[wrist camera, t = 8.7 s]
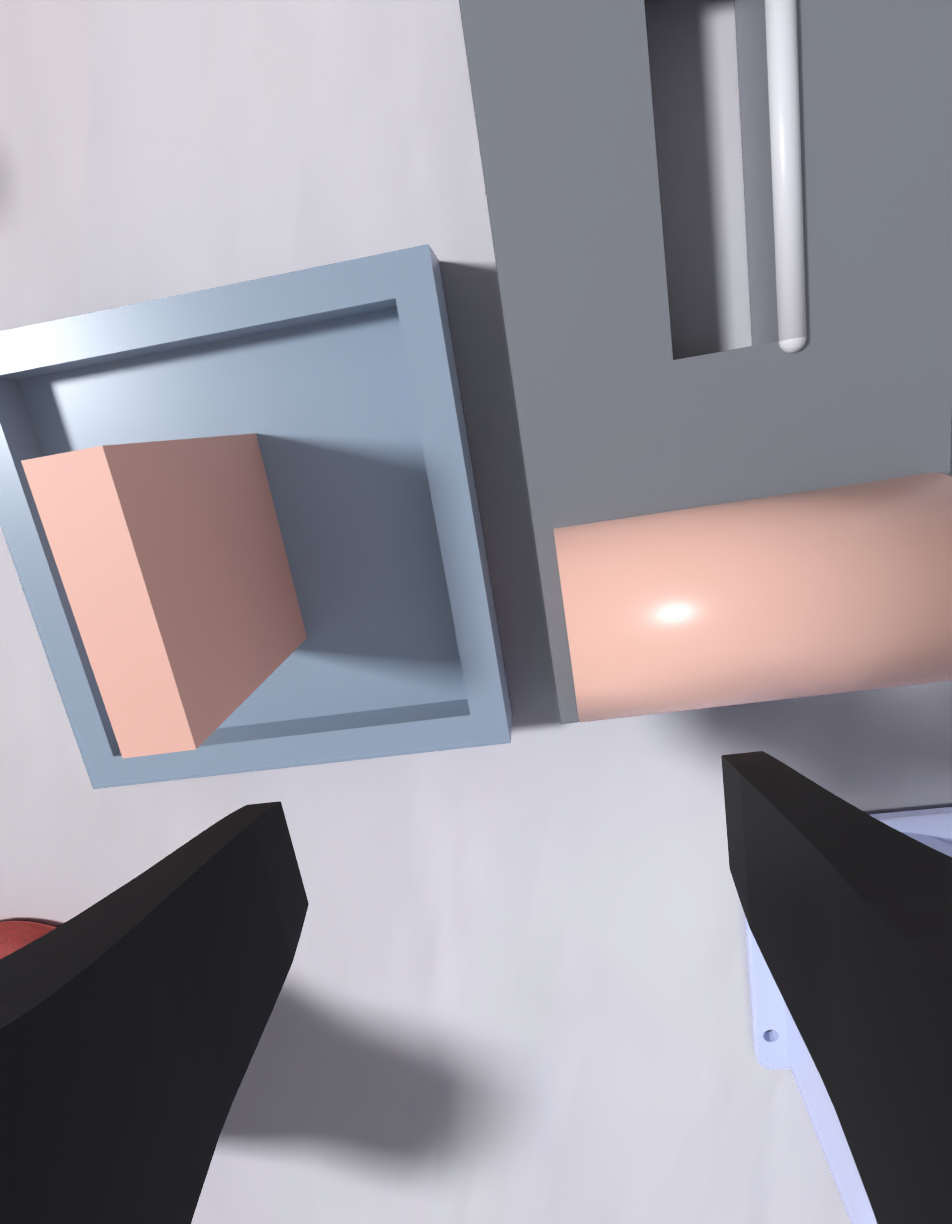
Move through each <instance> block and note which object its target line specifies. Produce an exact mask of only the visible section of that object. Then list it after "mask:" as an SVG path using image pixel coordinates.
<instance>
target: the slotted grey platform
mask: <svg viewBox="0 0 952 1224" xmlns="http://www.w3.org/2000/svg"><path fill="white" fill-rule="evenodd" d="M645 1H649V0H459V5H460V12H461V19H462V26H463V33H464V41H465V48H466V55H467V62H468V69H469V76H470V83H471V90H472V97H473V104H474V111H475V118H476V125H477V133H478V140H479V147H480V154H481V161H482V168H483V175H484V182H485V189H486V196H487V203H488V210H489V217H490V225H491V232H492V239H493V246H494V253H495V260H496V267H497V274H498V281H499V288H500V295H501V302H502V310H503V317H504V324H505V331H506V338H507V345H508V352H509V359H510V366H511V373H512V380H513V387H514V394H515V402H516V409H517V416H518V423H519V430H520V437H521V444H522V451H523V458H524V465H525V472H526V479H527V487H528V494H529V501H530V508H531V515H532V522H533V529H534V536H535V543H536V550H537V557H538V564H539V571H540V579H541V586H542V593H543V600H544V607H545V614H546V621H547V628H548V635H549V642H550V649H551V656H552V663H553V671H554V678H555V685H556V692H557V699H558V706H559V713H560V720H561V724H566V723H575V722H587V721H596V720H605V719H614V718H623V717H632V716H641V715H649V714H658V713H667V712H676V711H685V710H694V709H703V708H712V707H720V706H729V705H738V704H747V703H756V702H765V701H774V700H782V699H791V698H800V697H809V696H818V695H827V694H836V693H844V692H853V691H862V690H871V689H880V688H889V687H898V686H906V685H915V684H924V683H933V682H942V681H951V680H952V477H951V476H950V460H951V418H952V0H734V1H735V20H736V40H737V60H738V80H739V99H740V119H741V139H742V158H743V178H744V198H745V217H746V237H747V257H748V276H749V296H750V316H751V336H752V346H751V347H745V348H739V349H734V350H728V351H722V352H716V353H711V354H705V355H699V356H693V357H688V358H682V359H676V360H673V353H672V340H671V328H670V315H669V303H668V290H667V278H666V265H665V253H664V241H663V228H662V216H661V203H660V191H659V178H658V166H657V154H656V141H655V129H654V116H653V104H652V91H651V79H650V67H649V54H648V42H647V29H646V17H645V4H644V2H645Z"/></svg>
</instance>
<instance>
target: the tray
mask: <svg viewBox="0 0 952 1224" xmlns="http://www.w3.org/2000/svg"><path fill="white" fill-rule="evenodd" d="M253 433H256V435H257V439H258V443H259V447H260V451H261V455H262V459H263V463H264V467H265V471H266V475H267V479H268V483H269V487H270V491H271V495H272V499H273V503H274V507H275V511H276V515H277V519H278V523H279V527H280V532H281V536H282V540H283V544H284V548H285V552H286V556H287V560H288V564H289V568H290V572H291V576H292V580H293V584H294V588H295V592H296V596H297V600H298V604H299V608H300V612H301V616H302V620H303V624H304V628H305V632H306V636H307V639H306V640H305V641H304V642H303V643H302V644H301V645H300V646H299V647H298V648H297V649H296V650H295V651H294V652H293V653H292V654H291V655H290V656H289V657H288V658H287V659H286V660H285V661H284V662H283V663H282V664H281V665H280V666H279V667H278V668H277V669H276V670H275V671H274V672H273V673H272V674H271V675H270V676H269V677H268V678H267V679H266V680H265V681H264V682H263V683H262V684H261V685H260V686H259V687H258V688H257V689H256V690H255V691H254V692H253V693H252V694H251V695H250V696H249V697H248V698H247V699H246V700H245V701H244V702H243V703H242V704H241V705H240V706H239V707H238V708H237V709H236V710H235V711H234V712H233V713H232V714H231V715H230V716H229V717H228V718H227V719H226V720H225V721H224V722H223V723H222V724H221V725H220V726H219V727H218V728H217V729H216V730H215V731H214V732H213V733H212V734H211V735H210V736H209V737H208V738H207V739H206V740H205V741H204V742H203V743H202V744H201V745H200V746H199V747H198V748H197V749H196V750H188V751H180V752H172V753H164V754H156V755H148V756H139V757H131V758H123V757H122V755H121V752H120V749H119V746H118V743H117V740H116V737H115V734H114V731H113V728H112V725H111V722H110V719H109V717H108V714H107V711H106V708H105V705H104V702H103V699H102V696H101V693H100V690H99V687H98V684H97V682H96V679H95V676H94V673H93V670H92V667H91V664H90V661H89V658H88V655H87V652H86V649H85V646H84V644H83V641H82V638H81V635H80V632H79V629H78V626H77V623H76V620H75V617H74V614H73V611H72V609H71V606H70V603H69V600H68V597H67V594H66V591H65V588H64V585H63V582H62V579H61V576H60V574H59V571H58V568H57V565H56V562H55V559H54V556H53V553H52V550H51V547H50V544H49V541H48V538H47V536H46V533H45V530H44V527H43V524H42V521H41V518H40V515H39V512H38V509H37V506H36V503H35V501H34V498H33V495H32V492H31V489H30V486H29V483H28V480H27V477H26V474H25V471H24V468H23V465H22V463H21V461H22V460H27V459H33V458H38V457H44V456H49V455H54V454H60V453H65V452H71V451H76V450H81V449H87V448H92V447H98V446H104V445H116V444H129V443H141V442H154V441H166V440H178V439H191V438H203V437H216V436H228V435H241V434H253ZM0 526H1V529H2V531H3V534H4V537H5V540H6V543H7V546H8V549H9V551H10V554H11V557H12V560H13V563H14V566H15V568H16V571H17V574H18V577H19V580H20V583H21V585H22V588H23V591H24V594H25V597H26V600H27V602H28V605H29V608H30V611H31V614H32V617H33V619H34V622H35V625H36V628H37V631H38V634H39V636H40V639H41V642H42V645H43V648H44V651H45V653H46V656H47V659H48V662H49V665H50V668H51V670H52V673H53V676H54V679H55V682H56V685H57V688H58V690H59V693H60V696H61V699H62V702H63V705H64V707H65V710H66V713H67V716H68V719H69V722H70V724H71V727H72V730H73V733H74V736H75V739H76V741H77V744H78V747H79V750H80V753H81V756H82V758H83V761H84V764H85V767H86V770H87V773H88V775H89V778H90V781H91V784H92V787H93V789H98V788H107V787H116V786H125V785H134V784H143V783H152V782H161V781H170V780H179V779H188V778H197V777H206V776H215V775H224V774H233V773H242V772H252V771H261V770H270V769H279V768H288V767H297V766H306V765H315V764H324V763H333V762H342V761H351V760H360V759H369V758H378V757H387V756H396V755H405V754H414V753H423V752H432V751H441V750H450V749H459V748H468V747H478V746H487V745H496V744H505V743H511V728H512V711H511V704H510V698H509V692H508V686H507V680H506V673H505V667H504V661H503V655H502V649H501V643H500V636H499V630H498V624H497V618H496V612H495V605H494V599H493V593H492V587H491V581H490V575H489V568H488V562H487V556H486V550H485V544H484V537H483V531H482V525H481V519H480V513H479V506H478V500H477V494H476V488H475V482H474V476H473V469H472V463H471V457H470V451H469V445H468V438H467V432H466V426H465V420H464V414H463V407H462V401H461V395H460V389H459V383H458V377H457V370H456V364H455V358H454V352H453V346H452V339H451V333H450V327H449V321H448V315H447V309H446V302H445V296H444V290H443V284H442V278H441V271H440V265H439V260H438V259H437V257H436V255H435V254H434V252H433V251H432V249H431V247H430V246H429V244H428V245H423V246H418V247H413V248H408V249H403V250H398V251H393V252H388V253H383V254H378V255H374V256H369V257H364V258H359V259H354V260H349V261H344V262H339V263H334V264H329V265H324V266H319V267H315V268H310V269H305V270H300V271H295V272H290V273H285V274H280V275H275V276H270V277H265V278H261V279H256V280H251V281H246V282H241V283H236V284H231V285H226V286H221V287H216V288H211V289H206V290H202V291H197V292H192V293H187V294H182V295H177V296H172V297H167V298H162V299H157V300H152V301H147V302H143V303H138V304H133V305H128V306H123V307H118V308H113V309H108V310H103V311H98V312H93V313H88V314H84V315H79V316H74V317H69V318H64V319H59V320H54V321H49V322H44V323H39V324H34V325H29V326H25V327H20V328H15V329H10V330H5V331H0Z"/></svg>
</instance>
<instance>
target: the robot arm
mask: <svg viewBox="0 0 952 1224" xmlns="http://www.w3.org/2000/svg"><path fill="white" fill-rule="evenodd" d="M722 769H723V783H724V796H725V810H726V824H727V837H728V851H729V865H730V871H731V874H732V877H733V880H734V883H735V886H736V889H737V892H738V895H739V898H740V901H741V904H742V907H743V910H744V913H745V923H746V938H747V953H748V968H749V982H750V997H751V1012H752V1027H753V1041H754V1052H755V1055H756V1058H757V1060H758V1063H759V1064H760V1065H761V1066H763V1067H765V1068H768V1069H784V1068H790V1069H791V1071H792V1074H793V1076H794V1079H795V1081H796V1084H797V1087H798V1089H799V1092H800V1094H801V1097H802V1099H803V1102H804V1104H805V1107H806V1110H807V1112H808V1115H809V1117H810V1120H811V1122H812V1125H813V1127H814V1130H815V1133H816V1135H817V1138H818V1140H819V1143H820V1145H821V1148H822V1150H823V1153H824V1156H825V1158H826V1161H827V1163H828V1166H829V1168H830V1171H831V1173H832V1176H833V1179H834V1181H835V1184H836V1186H837V1189H838V1191H839V1194H840V1196H841V1199H842V1202H843V1204H844V1207H845V1209H846V1212H847V1214H848V1217H849V1219H850V1222H851V1224H952V807H945V808H934V809H923V810H912V811H901V812H890V813H880V814H869V815H868V814H866V813H865V812H863V811H861V810H859V809H858V808H856V807H854V806H853V805H851V804H849V803H847V802H846V801H844V800H842V799H841V798H839V797H837V796H836V795H834V794H832V793H831V792H829V791H827V790H826V789H824V788H822V787H821V786H819V785H817V784H816V783H814V782H813V781H811V780H809V779H808V778H806V777H805V776H803V775H801V774H800V773H798V772H797V771H795V770H793V769H792V768H790V767H788V766H787V765H785V764H784V763H782V762H780V761H779V760H777V759H775V758H774V757H772V756H770V755H768V754H767V753H765V752H763V751H760V752H750V753H741V754H731V755H722ZM307 908H308V900H307V897H306V893H305V889H304V886H303V882H302V878H301V875H300V871H299V867H298V863H297V860H296V856H295V852H294V849H293V845H292V841H291V838H290V834H289V830H288V827H287V823H286V819H285V816H284V812H283V808H282V804H281V802H271V803H262V804H252V805H246V806H244V807H242V808H240V809H238V810H236V811H235V812H233V813H231V814H229V815H228V816H226V817H225V818H223V819H221V820H220V821H218V822H217V823H215V824H214V825H212V826H211V827H209V828H208V829H206V830H205V831H203V832H202V833H200V834H199V835H197V836H196V837H194V838H193V839H192V840H190V841H189V842H187V843H186V844H184V845H183V846H181V847H180V848H178V849H177V850H176V851H174V852H173V853H171V854H170V855H168V856H167V857H165V858H164V859H162V860H161V861H160V862H158V863H157V864H155V865H154V866H152V867H151V868H149V869H148V870H146V871H145V872H144V873H142V874H141V875H139V876H138V877H136V878H134V879H133V880H131V881H130V882H128V883H127V884H125V885H124V886H122V887H121V888H119V889H117V890H116V891H114V892H113V893H111V894H110V895H108V896H107V897H105V898H104V899H102V900H100V901H99V902H97V903H96V904H94V905H93V906H91V907H90V908H88V909H86V910H85V911H83V912H82V913H80V914H79V915H77V916H75V917H74V918H72V919H71V920H69V921H67V922H66V923H64V924H62V925H61V926H59V927H57V928H55V929H54V930H52V931H50V932H49V933H47V934H45V935H43V936H42V937H40V938H38V939H36V940H34V941H33V942H31V943H29V944H27V945H25V946H24V947H22V948H20V949H18V950H16V951H15V952H13V953H11V954H9V955H7V956H6V957H4V958H2V959H0V1224H191V1221H192V1218H193V1215H194V1212H195V1209H196V1206H197V1203H198V1199H199V1196H200V1193H201V1190H202V1187H203V1184H204V1181H205V1178H206V1175H207V1172H208V1169H209V1166H210V1163H211V1160H212V1157H213V1154H214V1151H215V1148H216V1145H217V1141H218V1139H219V1136H220V1133H221V1131H222V1128H223V1125H224V1123H225V1120H226V1118H227V1115H228V1113H229V1110H230V1107H231V1105H232V1102H233V1100H234V1098H235V1095H236V1093H237V1091H238V1088H239V1086H240V1084H241V1081H242V1079H243V1077H244V1075H245V1072H246V1070H247V1068H248V1065H249V1063H250V1061H251V1058H252V1056H253V1054H254V1051H255V1049H256V1047H257V1045H258V1042H259V1040H260V1038H261V1035H262V1033H263V1031H264V1028H265V1026H266V1024H267V1021H268V1019H269V1017H270V1015H271V1012H272V1010H273V1008H274V1005H275V1003H276V1000H277V998H278V996H279V993H280V991H281V989H282V986H283V984H284V982H285V979H286V977H287V974H288V972H289V969H290V967H291V964H292V962H293V958H294V955H295V952H296V948H297V945H298V942H299V938H300V935H301V931H302V927H303V923H304V919H305V916H306V912H307ZM767 1030H772V1031H769V1032H766V1031H767Z"/></svg>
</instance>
